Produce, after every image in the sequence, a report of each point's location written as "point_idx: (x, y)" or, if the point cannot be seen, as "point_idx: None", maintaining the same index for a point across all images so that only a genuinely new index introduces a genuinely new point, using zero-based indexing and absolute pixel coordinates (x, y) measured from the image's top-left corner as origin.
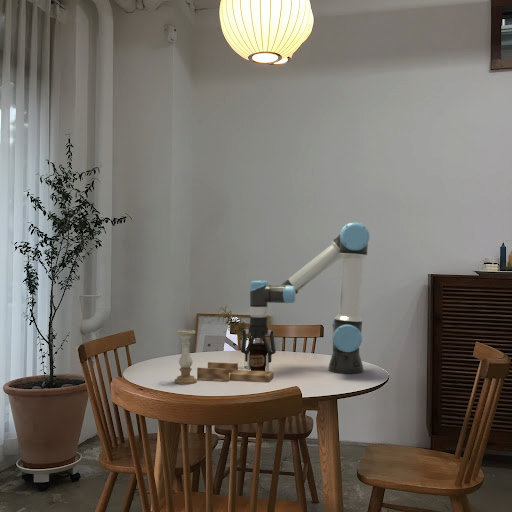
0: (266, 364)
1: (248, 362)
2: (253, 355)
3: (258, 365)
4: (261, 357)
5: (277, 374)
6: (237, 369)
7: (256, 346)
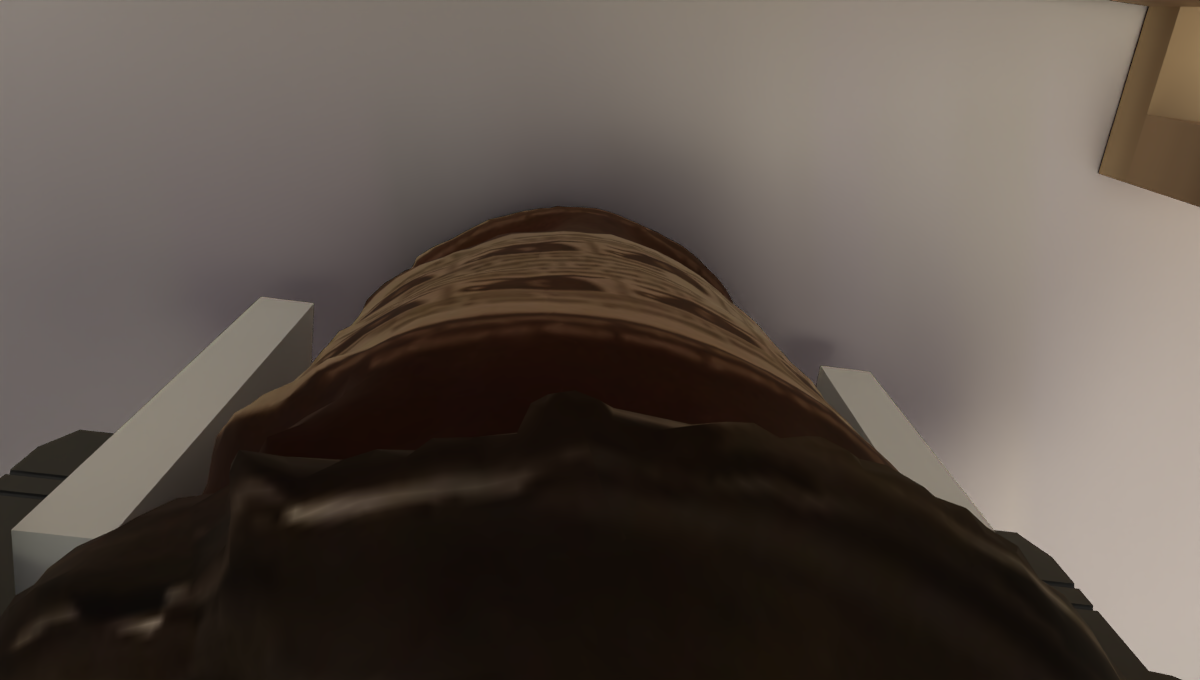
0: (241, 371)
1: (907, 462)
2: (775, 382)
3: (520, 240)
4: (348, 352)
5: (50, 351)
6: (1194, 173)
7: (636, 657)
